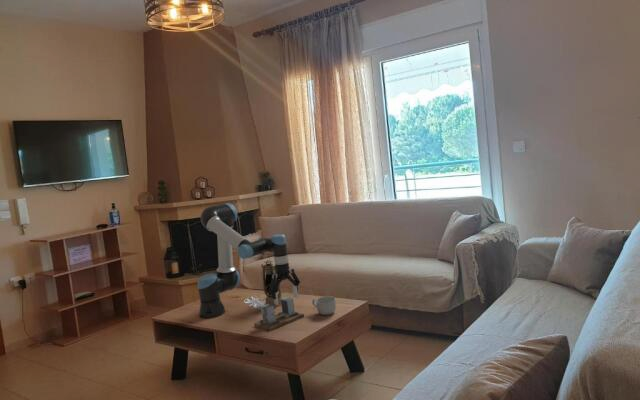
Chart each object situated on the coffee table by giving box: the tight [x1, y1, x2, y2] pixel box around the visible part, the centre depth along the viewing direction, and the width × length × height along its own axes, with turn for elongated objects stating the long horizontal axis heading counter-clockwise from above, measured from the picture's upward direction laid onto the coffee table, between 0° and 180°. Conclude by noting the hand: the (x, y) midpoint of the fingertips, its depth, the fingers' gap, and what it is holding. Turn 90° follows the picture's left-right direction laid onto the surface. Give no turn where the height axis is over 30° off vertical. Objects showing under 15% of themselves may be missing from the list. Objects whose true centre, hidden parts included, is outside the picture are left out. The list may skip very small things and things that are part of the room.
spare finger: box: [280, 296, 296, 316], centre depth 257 cm, size 4×6×9 cm
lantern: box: [260, 259, 283, 309], centre depth 283 cm, size 14×12×30 cm
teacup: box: [311, 295, 337, 316], centre depth 258 cm, size 14×11×8 cm
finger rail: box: [253, 303, 305, 332], centre depth 253 cm, size 14×23×10 cm, turn 132°
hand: (286, 300), depth 257 cm, fingers open, 13 cm apart
